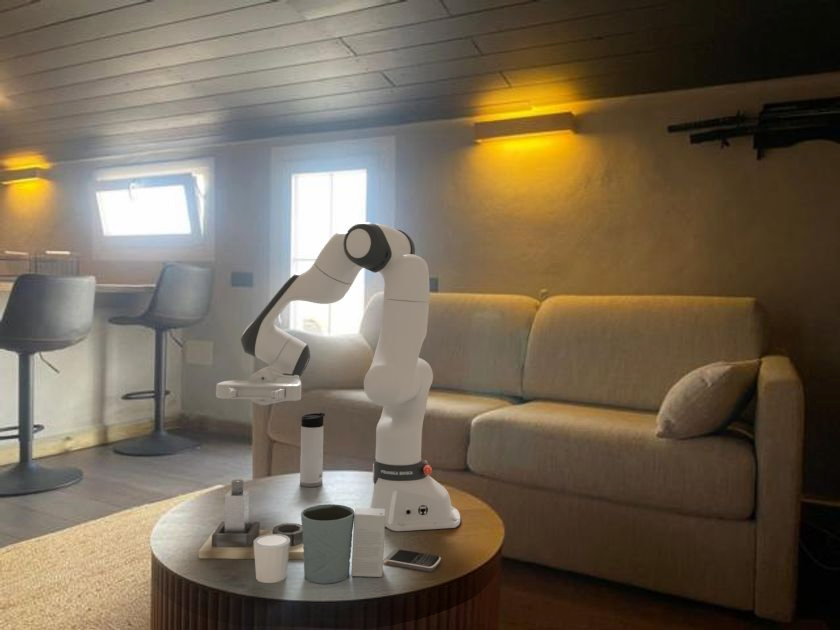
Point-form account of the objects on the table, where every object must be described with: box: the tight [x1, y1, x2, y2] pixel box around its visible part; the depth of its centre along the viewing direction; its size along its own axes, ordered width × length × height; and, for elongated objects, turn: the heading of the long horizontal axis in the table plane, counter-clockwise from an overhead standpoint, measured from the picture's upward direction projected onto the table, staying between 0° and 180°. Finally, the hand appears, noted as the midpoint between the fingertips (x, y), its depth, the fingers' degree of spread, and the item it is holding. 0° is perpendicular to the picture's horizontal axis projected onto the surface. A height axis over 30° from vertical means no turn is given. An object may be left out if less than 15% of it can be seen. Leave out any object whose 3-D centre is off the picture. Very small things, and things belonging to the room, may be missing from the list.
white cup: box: [254, 534, 290, 584], centre depth 122 cm, size 7×7×7 cm
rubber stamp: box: [224, 479, 250, 534], centre depth 135 cm, size 4×4×12 cm
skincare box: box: [350, 507, 386, 578], centre depth 124 cm, size 6×4×12 cm
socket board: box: [198, 520, 304, 560], centre depth 135 cm, size 22×12×4 cm, turn 92°
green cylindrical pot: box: [300, 503, 355, 585], centre depth 123 cm, size 10×10×12 cm
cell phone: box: [383, 548, 442, 573], centre depth 130 cm, size 6×11×1 cm, turn 70°
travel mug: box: [299, 412, 326, 488], centre depth 181 cm, size 6×7×20 cm
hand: (253, 395), depth 148 cm, fingers open, 8 cm apart
